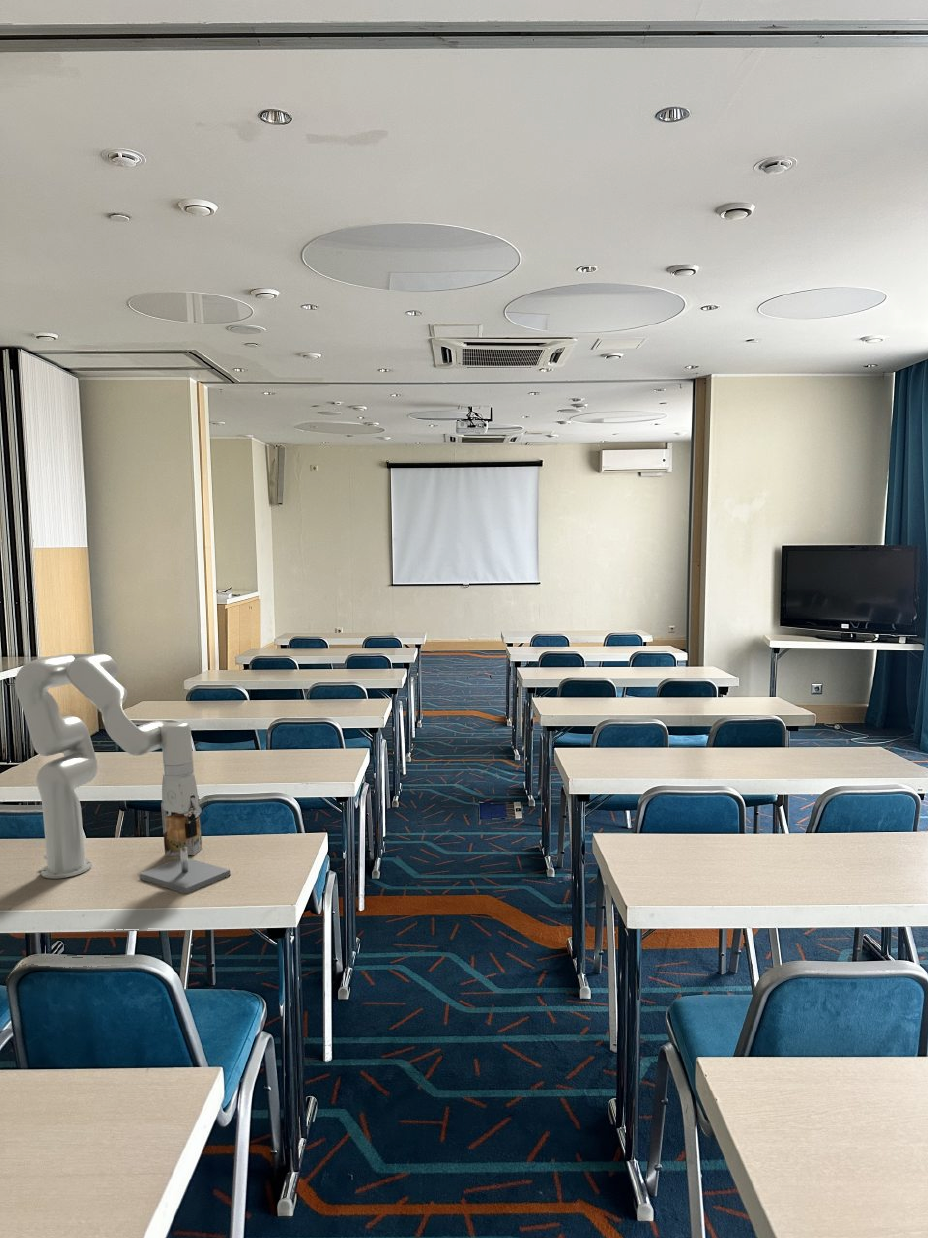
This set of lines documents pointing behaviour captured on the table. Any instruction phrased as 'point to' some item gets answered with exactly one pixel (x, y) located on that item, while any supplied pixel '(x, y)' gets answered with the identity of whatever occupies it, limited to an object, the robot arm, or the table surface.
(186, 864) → the rod
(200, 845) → the coffee box
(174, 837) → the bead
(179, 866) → the grey rectangular slab
